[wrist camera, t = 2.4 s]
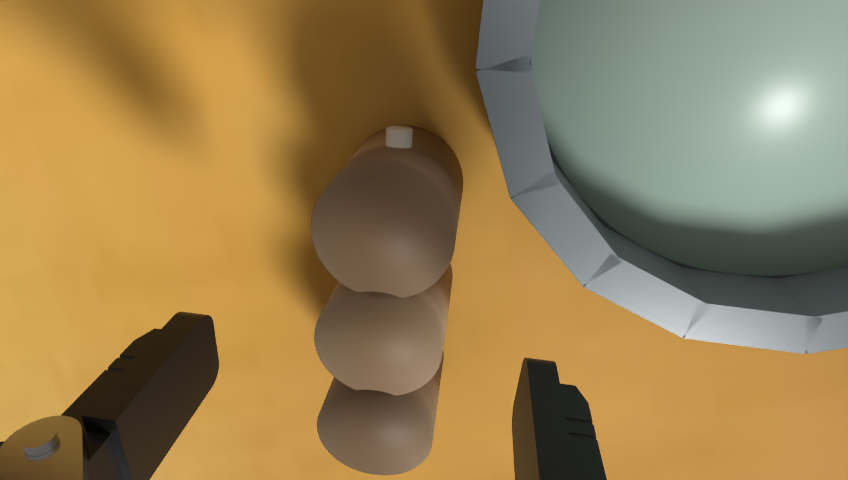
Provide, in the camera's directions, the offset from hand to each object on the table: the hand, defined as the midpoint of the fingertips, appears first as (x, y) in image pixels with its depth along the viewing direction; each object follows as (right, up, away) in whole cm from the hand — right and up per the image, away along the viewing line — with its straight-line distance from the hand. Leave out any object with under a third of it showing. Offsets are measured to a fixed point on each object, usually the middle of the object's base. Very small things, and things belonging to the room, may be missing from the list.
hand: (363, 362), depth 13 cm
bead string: (+1, +2, +5) cm, 5 cm away
